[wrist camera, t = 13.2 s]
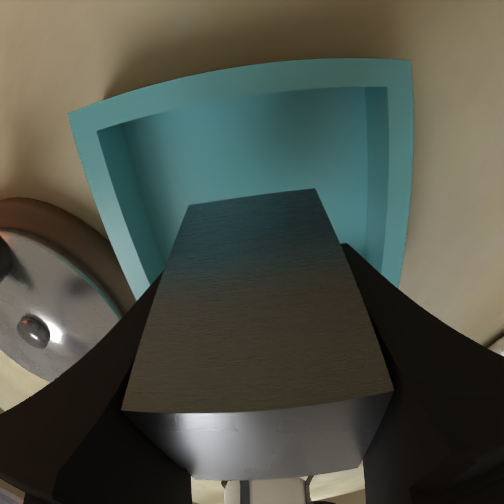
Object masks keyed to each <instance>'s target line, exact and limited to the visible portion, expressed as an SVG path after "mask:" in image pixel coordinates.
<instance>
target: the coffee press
mask: <svg viewBox="0 0 504 504" xmlns="http://www.w3.org/2000/svg"><path fill="white" fill-rule="evenodd" d="M313 476H314V475H310V476H308V478H307V480H306V481H304V480H303V479H301V478H299V477H292V478H281V479H266V480H222V481H221V484H222V486H223V487H224V488H225V495H224V504H335V503H332V502H326V501H313V502H312V501H311V498H310V492H309V484H310V482H311V480H312V478H313ZM228 481H230V482H229V483H228V484H227V482H228Z"/></svg>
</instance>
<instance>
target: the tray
mask: <svg viewBox="0 0 504 504" xmlns="http://www.w3.org/2000/svg"><path fill="white" fill-rule="evenodd" d="M68 117H69V121H70V125H71V129H72V132H73V136H74V139H75V143H76V146H77V149H78V153H79V156H80V159H81V162H82V165H83V168H84V172H85V175H86V178H87V181H88V183H89V186H90V189H91V192H92V195H93V198H94V201H95V203H96V206H97V209H98V211H99V214H100V217H101V219H102V222H103V225H104V227H105V230H106V232H107V235H108V237H109V240H110V242H111V245H112V247H113V249H114V252H115V254H116V256H117V259H118V261H119V263H120V266H121V268H122V270H123V272H124V275H125V277H126V279H127V281H128V284H129V286H130V288H131V290H132V292H133V294H134V296H135V299H136V301H137V300H138V299H139V298H140V297H141V296H142V295H143V293H144V292H145V291H146V290H147V289H148V288H149V286H150V285H151V284H152V283H153V282H154V281H155V279H156V278H157V277H158V276H159V275H160V274H161V273H162V271H163V270H164V269H165V266H166V263H167V261H168V258H169V255H170V252H171V250H172V247H173V244H174V242H175V239H176V236H177V234H178V231H179V228H180V226H181V223H182V221H183V218H184V216H185V213H186V211H187V208H188V206H189V205H193V204H199V203H205V202H212V201H219V200H225V199H232V198H239V197H246V196H254V195H261V194H269V193H277V192H285V191H294V190H302V189H311V188H315V189H316V191H317V193H318V195H319V198H320V200H321V202H322V204H323V206H324V209H325V211H326V213H327V215H328V217H329V220H330V222H331V224H332V226H333V229H334V231H335V233H336V236H337V238H338V240H339V242H340V244H341V243H348V244H349V245H350V246H351V247H352V248H353V249H354V250H356V251H357V252H358V253H359V254H360V255H361V256H362V257H363V258H364V259H365V260H366V261H367V262H368V263H370V264H371V265H372V266H373V267H374V268H375V269H376V270H377V271H378V272H379V273H380V274H382V275H383V276H384V277H385V278H386V279H387V280H388V281H390V282H391V283H392V284H393V285H394V286H395V287H396V288H398V287H399V282H400V276H401V270H402V264H403V257H404V250H405V243H406V235H407V227H408V218H409V208H410V197H411V184H412V167H413V134H414V115H413V83H412V67H411V60H398V59H378V58H326V59H306V60H292V61H281V62H271V63H262V64H255V65H247V66H240V67H234V68H228V69H222V70H216V71H211V72H206V73H201V74H196V75H191V76H187V77H182V78H178V79H174V80H170V81H166V82H162V83H158V84H154V85H151V86H147V87H143V88H140V89H137V90H133V91H130V92H127V93H123V94H120V95H117V96H114V97H111V98H108V99H105V100H102V101H100V102H97V103H94V104H91V105H88V106H86V107H83V108H81V109H78V110H75V111H73V112H70V113H68Z"/></svg>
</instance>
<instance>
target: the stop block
mask: <svg viewBox="0 0 504 504" xmlns="http://www.w3.org/2000/svg"><path fill="white" fill-rule="evenodd" d="M393 392H394V388H393V385H392V382H391V379H390V376H389V373H388V369H387V366H386V363H385V360H384V357H383V354H382V352H381V349H380V346H379V343H378V340H377V337H376V334H375V332H374V329H373V326H372V323H371V320H370V318H369V315H368V312H367V310H366V307H365V304H364V302H363V299H362V297H361V294H360V291H359V289H358V286H357V284H356V281H355V279H354V276H353V274H352V271H351V269H350V266H349V264H348V261H347V259H346V257H345V254H344V252H343V250H342V247H341V245H340V242H339V240H338V238H337V236H336V233H335V231H334V229H333V226H332V224H331V222H330V220H329V217H328V215H327V213H326V211H325V209H324V206H323V204H322V202H321V200H320V198H319V195H318V193H317V191H316V189H315V188H311V189H302V190H294V191H285V192H277V193H269V194H261V195H254V196H246V197H239V198H232V199H225V200H219V201H212V202H205V203H199V204H193V205H189V206H188V208H187V211H186V213H185V216H184V218H183V221H182V223H181V226H180V228H179V231H178V234H177V236H176V239H175V242H174V244H173V247H172V250H171V252H170V255H169V258H168V261H167V263H166V266H165V269H164V272H163V275H162V277H161V280H160V283H159V286H158V289H157V292H156V295H155V298H154V301H153V304H152V307H151V310H150V313H149V316H148V319H147V322H146V325H145V328H144V331H143V335H142V338H141V341H140V344H139V348H138V351H137V354H136V358H135V361H134V364H133V368H132V371H131V375H130V378H129V382H128V386H127V389H126V393H125V397H124V400H123V404H122V408H121V411H122V412H123V413H124V414H125V415H126V416H127V417H128V418H129V419H130V420H131V421H132V422H133V423H134V424H135V425H136V426H137V427H138V428H139V429H140V430H141V431H142V432H143V433H144V434H145V435H146V436H147V437H148V438H149V439H150V440H151V441H152V442H153V443H154V444H155V445H156V446H157V447H158V448H159V449H161V450H162V451H163V452H164V453H165V454H166V455H167V456H168V457H169V458H171V459H172V460H173V461H174V462H175V463H176V464H177V465H179V466H180V467H181V468H182V469H183V470H185V471H186V472H187V473H188V474H189V475H191V476H192V477H193V478H194V479H196V480H266V479H281V478H292V477H302V476H310V475H318V474H325V473H332V472H338V471H343V470H349V469H354V468H358V466H359V464H360V463H361V461H362V459H363V457H364V455H365V453H366V451H367V449H368V447H369V445H370V443H371V441H372V439H373V437H374V435H375V433H376V431H377V429H378V427H379V424H380V422H381V420H382V418H383V416H384V413H385V411H386V409H387V407H388V404H389V402H390V399H391V397H392V395H393Z"/></svg>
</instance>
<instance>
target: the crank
mask: <svg viewBox="0 0 504 504" xmlns="http://www.w3.org/2000/svg"><path fill="white" fill-rule="evenodd" d="M125 314H126V313H125V311H124V309H123V308H122V306H121V305H120V303H119V302H118V300H117V299H116V298H115V296H114V295H113V294H112V292H111V291H110V290H109V289H108V288H107V286H106V285H105V284H104V283H103V282H102V281H101V280H100V279H99V278H98V277H97V276H96V275H95V274H94V273H93V272H92V271H91V270H90V269H89V268H88V267H87V266H86V265H84V264H83V263H82V262H81V261H79V260H78V259H77V258H76V257H74V256H73V255H72V254H71V253H69V252H68V251H66V250H65V249H63V248H62V247H60V246H59V245H57V244H55V243H54V242H52V241H50V240H48V239H46V238H45V237H43V236H40V235H38V234H36V233H33V232H31V231H28V230H24V229H21V228H16V227H9V226H0V349H1V350H2V351H3V352H4V353H5V354H6V355H8V356H9V357H10V358H11V359H12V360H14V361H15V362H16V363H18V364H19V365H20V366H22V367H23V368H25V369H26V370H28V371H30V372H31V373H33V374H35V375H37V376H38V377H40V378H42V379H45V380H47V381H49V382H52V381H54V380H55V379H56V378H57V377H59V376H60V375H61V374H62V373H64V372H65V371H66V370H67V369H69V368H70V367H71V366H72V365H74V364H75V363H76V362H77V361H79V360H80V359H81V358H82V357H83V356H84V355H85V354H86V353H87V352H89V351H90V350H91V349H92V348H93V347H94V346H95V345H96V344H97V343H98V342H99V341H100V340H101V339H102V338H103V337H104V336H105V335H106V334H107V333H108V332H109V331H110V330H111V329H112V328H113V327H114V326H115V325H116V323H117V322H118V321H119V320H120V319H121V318H122V317H123V316H124V315H125Z"/></svg>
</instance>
